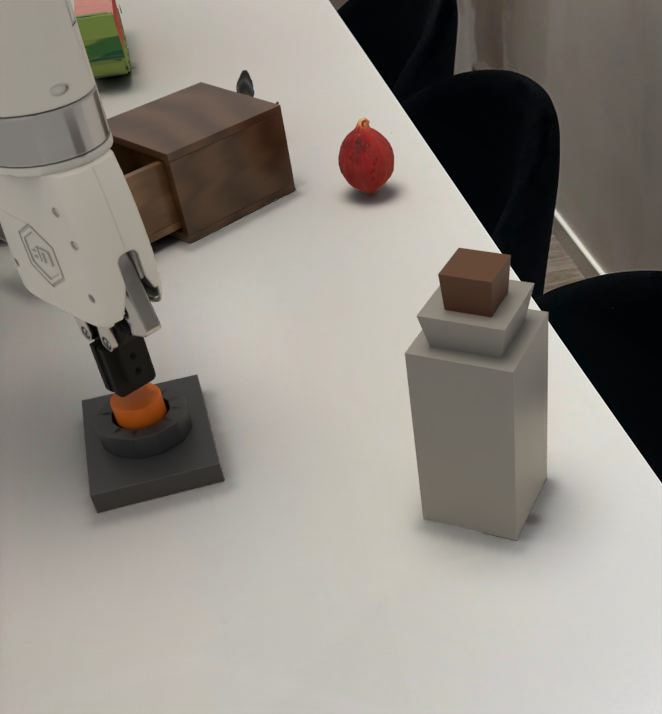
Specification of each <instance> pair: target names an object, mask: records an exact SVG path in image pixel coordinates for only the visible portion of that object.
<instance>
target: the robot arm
mask: <svg viewBox="0 0 662 714" xmlns="http://www.w3.org/2000/svg"><path fill="white" fill-rule="evenodd" d="M107 119H108V118H107V115H106V111H105V108H104V105H103V101H102V99H101V95H100V92H99V89H98V85H97V82H96V80H95V79H94V76H93V73H92V70H91V67H90V63H89V60H88V57H87V53H86V50H85V47H84V43H83V40H82V37H81V34H80V30H79V27H78V24H77V20H76V17H75V14H74V8H73V4H72V1H71V0H0V223H1V226H2V229H3V232H4V234H5V237H6V240H7V242H6V243H7V245H8V248H9V251H10V253H11V256H12V258H13V261H14V265H15V267H16V270H17V272H18V275H19V277H20V279H21V282H22V284H23V285H24V287H25V289H26V290H27V291H28V292H30V293H31V294H32V295H33V296H35V297H36V298H39V299H40V300H42V301H43V302H46V303H48V304H49V305H51V306H53V307H55V308H57V309H59V310H61V311H63V312H65V313H66V314H69V315H71V316H73V317H74V320H75V321H76V324H77V326H78V328H79V330H80V332H81V334H82V336H83V337H84V338H85V340H87V341H89V342H90V343H88V345H89V348H90V351H91V353H92V356H93V358H94V361H95V364H96V366H97V369H98V371H99V374H100V377H101V380H102V382H103V385H104V387H105V389H106V390H107V391H109V392H111V393H115V394H116V395H118V396H120V397H126V396H127V395H129V394H131V393H132V392H134V391H136V390H137V389H139V388H141V387H142V386H144V385H146V384H147V383H152V382H153V381H154V380H155V379H156V377H157V372H156V370H155V367H154V364H153V361H152V358H151V355H150V352H149V349H148V346H147V343H146V340H145V338H147V337H149V336H151V335H152V334H154V333H156V332H157V331H159V330H161V329H162V324H161V322H160V319H159V317H158V314H157V313H156V311H155V308H154V306H153V304H152V303H159V302H160V301H161V300H162V298H163V294H164V293H163V291H164V289H163V283H162V278H161V275H160V271H159V267H158V263H157V260H156V257H155V253H154V251H153V250H154V249H153V247H152V245H151V244H152V243H150V241H149V238H148V236H147V233H146V230H145V227H144V225H143V222H142V219H141V217H140V214H139V211H138V208H137V206H136V203H135V201H134V198H133V196H132V194H131V191H130V189H129V186H128V184H127V182H126V179H125V177H124V175H123V172H122V170H121V168H120V166H119V164H118V162H117V159H116V157H115V155H114V153H113V151H112V150H111V149H110V148H111V146H112V144H113V137H112V134H111V130H110V128H109V124H108V121H107Z"/></svg>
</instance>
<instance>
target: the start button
mask: <svg viewBox="0 0 662 714" xmlns="http://www.w3.org/2000/svg"><path fill="white" fill-rule="evenodd" d="M154 384H155V383H152V382H149V383H147V384H146V385H144V386H142V387H141V388H139V389H137V390H136V391H134V392H132V393H131V394H129V395H127V396H126V397H120V396H118V395H116V394H115V392H113V393H114V394H113V393H112V394H113V395H112V397H111V399H110V405H111V407H112V410H113V413H114V415H115V418H116V421H117V423H118V424H119V426H121V427H122V428H126V429H139V428H144V427H148V426H151V425H153V424H155V423H157V422H158V421H160V420H162V419H163V418H164V417H165V415H166V411H167V409H166V406H165V403H164V400H163V397H162V394H161V391H160V389H159V388H158V387H157V386H156V385H154Z"/></svg>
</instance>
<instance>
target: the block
mask: <svg viewBox="0 0 662 714" xmlns="http://www.w3.org/2000/svg"><path fill="white" fill-rule="evenodd" d="M153 384H154V385H156V386H157V387H158V388H159V389H160V391H161V394H162V397H163V400H164V403H165V406H166V409H167V411H166V415H165V417H164V418H163V419H162V420H160V421H158V422H157V423H155V424H153V425H151V426H148V427H144V428H139V429H126V428H122V427H121V426H119V424H118V423H117V421H116V418H115V415H114V413H113V410H112V407H111V405H110V399H111V397H112V395H113V394H114V393H115V392H112V393H109V394H105V395H104V394H103V395H100V396H95V397H91V398H87V399H83V400H81V402H80V403H81V413H82V424H83V435H84V445H85V455H86V466H87V468H86V469H87V477H88V489H89V497H90V500H91V502H92V504H93V506H94V508H95V511H96V513H97V514H100V513H103V512H108V511H112V510H116V509H119V508H124V507H128V506H132V505H136V504H139V503H143V502H147V501H151V500H156V499H159V498H163V497H167V496H170V495H175V494H179V493H183V492H187V491H190V490H195V489H198V488H203V487H207V486H211V485H214V484H218V483H223V482H225V476H224V473H223V468H222V465H221V459H220V457H219V452H218V449H217V445H216V440H215V435H214V432H213V429H212V424H211V419H210V416H209V413H208V409H207V404H206V401H205V398H204V397H205V396H204V392H203V390H202V389H203V388H202V386H201V382H200V378H199V376H198V374H192V375H188V376H184V377H179V378H174V379H171V380H167V381H162V382H157V383H153Z"/></svg>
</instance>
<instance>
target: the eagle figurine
mask: <svg viewBox="0 0 662 714" xmlns="http://www.w3.org/2000/svg"><path fill="white" fill-rule="evenodd" d="M235 90H236V92H237V93H241V94H244V95H248V96H251V97H255V89H254V84H253V79H252V78H251V75H250V73H249V72H248V70H247V69H242V71H241V72H240V74H239V77H238V79H237V82H236V85H235ZM274 103H275V104H279V105H280V102H279V101H277V100H276V102H274Z"/></svg>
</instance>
